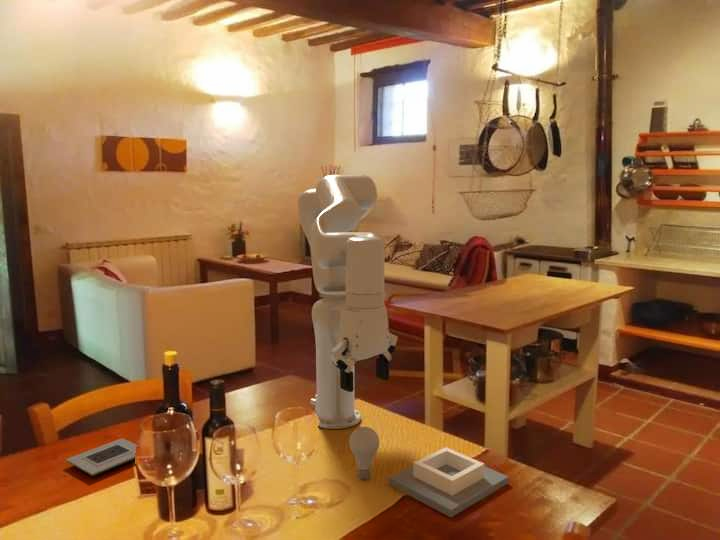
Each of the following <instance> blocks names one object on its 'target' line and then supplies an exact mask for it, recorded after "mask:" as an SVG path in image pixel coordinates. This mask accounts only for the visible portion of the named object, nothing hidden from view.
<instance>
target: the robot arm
mask: <svg viewBox="0 0 720 540" xmlns="http://www.w3.org/2000/svg"><path fill="white" fill-rule="evenodd" d="M377 197H378V191H377V186H376V184H375V182H374V179H373V178H372V177H370V176H369V175H366V174H330V175H326V176H324V177H323V178H321V179H319V180H318V182H317V184H316V187H315V188H312V189H307V190H305V191H304V192H302V193H301V194H300V196H299V197H298V199H297V200H298V201H297V212H298V213H297V214H298V217H299V222H300V225H301V228H302V230H303V233H304V235H305V237H306V239H307V242H308V244H309V247H310V248H309V249H310V259H311V266H312V275H313V282H314V286H315V289H316V291H317V292H318V293H320V294H324V295H340V296H328V297H324V298H321V299H318V300H317V301H316V302H315V303H314V304H313V305H312V307H311V318H312V319H311V320H312V325H313V326H312V327H313V332H314V338H315V339H314V340H315V363H316V365H315V367H316V373H315V374H316V394H315V395H314V397H313V398H311V399H310V400H309V401H310V402H309V403H310V404H311V405H313V406H314V409H315V410H314V411H313V412H315V413H316V414H317V416H318V421H319V426H318V427H319V428H323V429H329V430H341V429H348V428H352V427H354V426H355V425H358V424H359V422H360V421H361V417H362V416H361V413H360V411H359V410H358V409H355V407H356V406H355V364H356V362H357V361H358V362H359V361H363V360H366V359H370V358H372V357H373V358H374V357H376V358H375V359H376V360H375V376H376V378H379V379H380V380H384V381H389V379H390V361H391V360H392V358H393V357H392V354H394V351H395V350H396V347H395V346H396V344H397V342H398V336H397V335H395V334H393V333H392V332H390V329H389V326H390V325H389V318H388V311H387V307H386V305H385V297H386V296H387V292H386V291H385V243H384V241H383V239H381V238H380V236H379V235H378V234H377V233H375V232H372V231H371V232H370V231H360V232H359V231H358V232H357V231H356V232H355V231H353V229H355V228H356V227H357V226H358V225H359V223H360V221H361V220H363V219H364V218H365V217H366V216H367V215H369V213H371V211H372V210H373V209H374V208H375V205H376V203H377V200H378V199H377ZM342 295H344V296H342ZM377 356H378V357H377Z"/></svg>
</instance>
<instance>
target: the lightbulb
mask: <svg viewBox="0 0 720 540" xmlns="http://www.w3.org/2000/svg"><path fill="white" fill-rule="evenodd" d="M352 431H353V432H352V433H351V434H350V436H349V442H348V444H349V448H350V450H351V452H352V454H353V456H354V457H355V461H356V462H355V463H356V468H357V474H358V477H359V478H360V479H362V480H367V479H368V478H370V477H371V473H372V470H371V469H372V467H373V460H374V458H375V455H376V454H377V452H378V449H379V447H380V437H379V435H378V433H377V432H376V431H375V430H374V429H373V428H371V427H370V426H369V427H368V426H359V427H357V428H356V429H354V430H352Z"/></svg>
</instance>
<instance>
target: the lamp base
mask: <svg viewBox="0 0 720 540" xmlns="http://www.w3.org/2000/svg"><path fill="white" fill-rule="evenodd" d="M412 463H413V465H412V466H410V467H408V468H406V469H403V470H401V471H400V472H397V473H395V474H393V475H391V476H389V477H388V485H389V486H391V487H392V488H394V489H397V490H399V491H400V492H402V493H404V494H406V495H407V496H409V497H411V498H414V499H415V500H417V501H419V502H421V503H422V504H423V505H424V504H425V505H426V506H428V507H430V508H432V509H434V510H436V511H438V512H440V513H441V514H444V515H446V516H447V517H449V518H452V517H454V516H456V515H458V514H459V513H461V512H463V511H464V510H466V509H467V508H469V507H471V506H473V505H475V504H477V503H478V502H480V501H481V500H483V499H485V498H486V497H488V496H489V495H492V494H493V493H495V492H497V491H499V489H501V488H504V487H505V486H506V485H508V484H509V476H508V475H506V474H503V473H501V472H499V471H496V470H494V469H492V468H490V467H487V466H485V463H484V462H482V461H479V460H477V459H474V458H473V457H469V456H467V455H465V454H463V453H461V452H458V451H456V450H454V449H451V448H449V447H446V446H445V447H443V448H441V449H439V450H436V451H434V452H433V453H430V454H428V455H426V456H424V457H422V458H420V459H418V460H415V461H413V462H412Z"/></svg>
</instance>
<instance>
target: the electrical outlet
mask: <svg viewBox="0 0 720 540" xmlns="http://www.w3.org/2000/svg"><path fill="white" fill-rule="evenodd" d="M136 447H137V444H135V443H134V442H132V441H129V440H128V439H125V438H119V439H116V440H112V441H110V442H108V443H104V444H102V445H99V446H97V447H95V448H92V449H90V450H87V451H84V452H82V453H79V454H77V455H76V454H75V455H74V456H71V457H68V458H66V459H65V461H66V462H67V463H70V464H71V465H72V466H74V467H76V468H78V469H79V470H81V471H83V472H85V473H86V474H88V475H90V476H92V477H95V476H98V475H100V474H102V473H105V472H107V471H110V470H113V469H115V468H118V467H120V466H122V465H125V464H126V463H129V462H132V461H134V460H135V459H134V458H135V453H136ZM133 459H134V460H133Z"/></svg>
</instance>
